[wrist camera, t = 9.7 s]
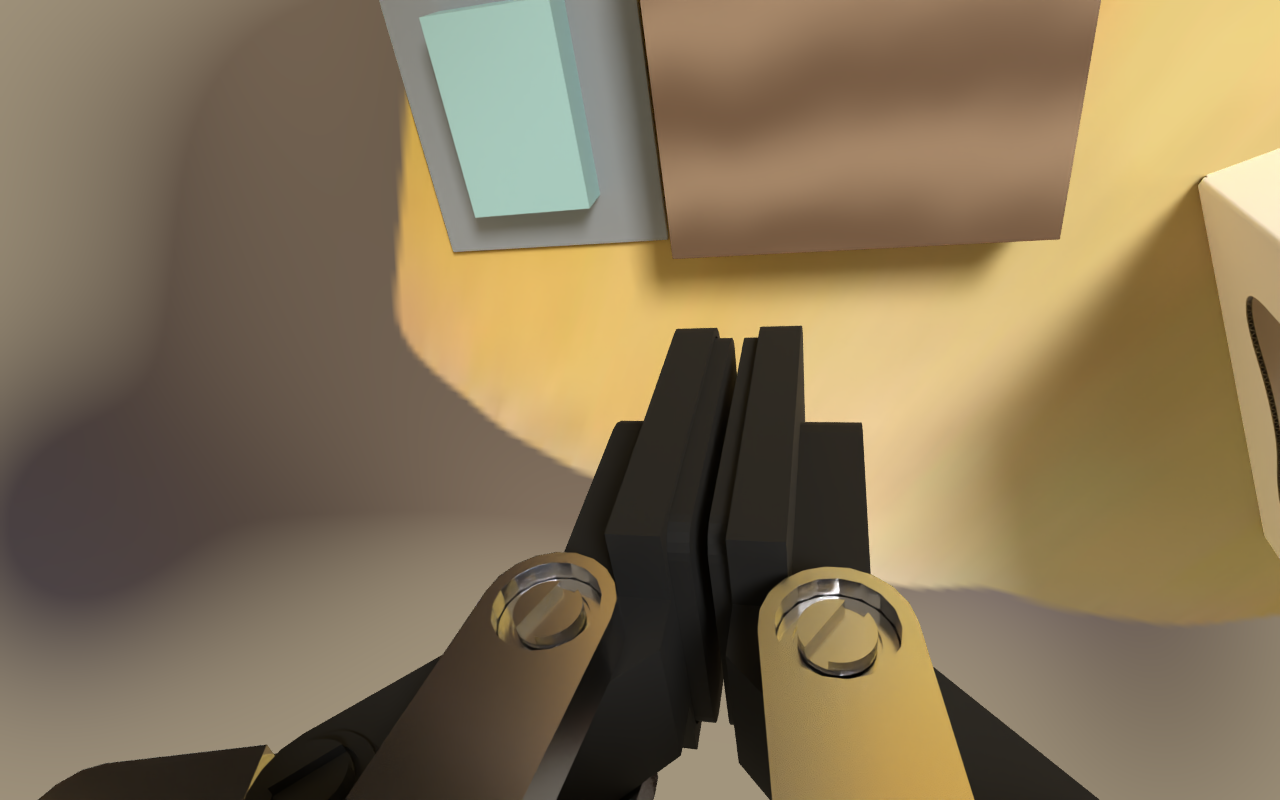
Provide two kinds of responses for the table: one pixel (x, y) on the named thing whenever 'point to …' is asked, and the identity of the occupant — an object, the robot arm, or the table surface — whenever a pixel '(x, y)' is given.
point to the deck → (865, 120)
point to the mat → (614, 120)
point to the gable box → (1251, 309)
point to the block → (514, 105)
